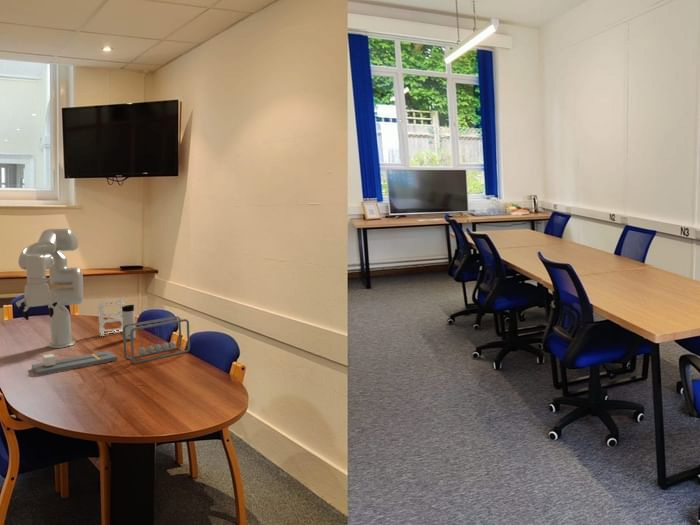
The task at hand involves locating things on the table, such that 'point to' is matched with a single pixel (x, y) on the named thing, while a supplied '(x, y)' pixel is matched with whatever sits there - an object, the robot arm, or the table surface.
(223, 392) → the table surface
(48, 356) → the fader tab
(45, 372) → the board
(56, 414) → the table surface
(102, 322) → the film strip holder
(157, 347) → the newton's cradle
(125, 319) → the travel mug
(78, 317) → the table surface
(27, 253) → the robot arm
